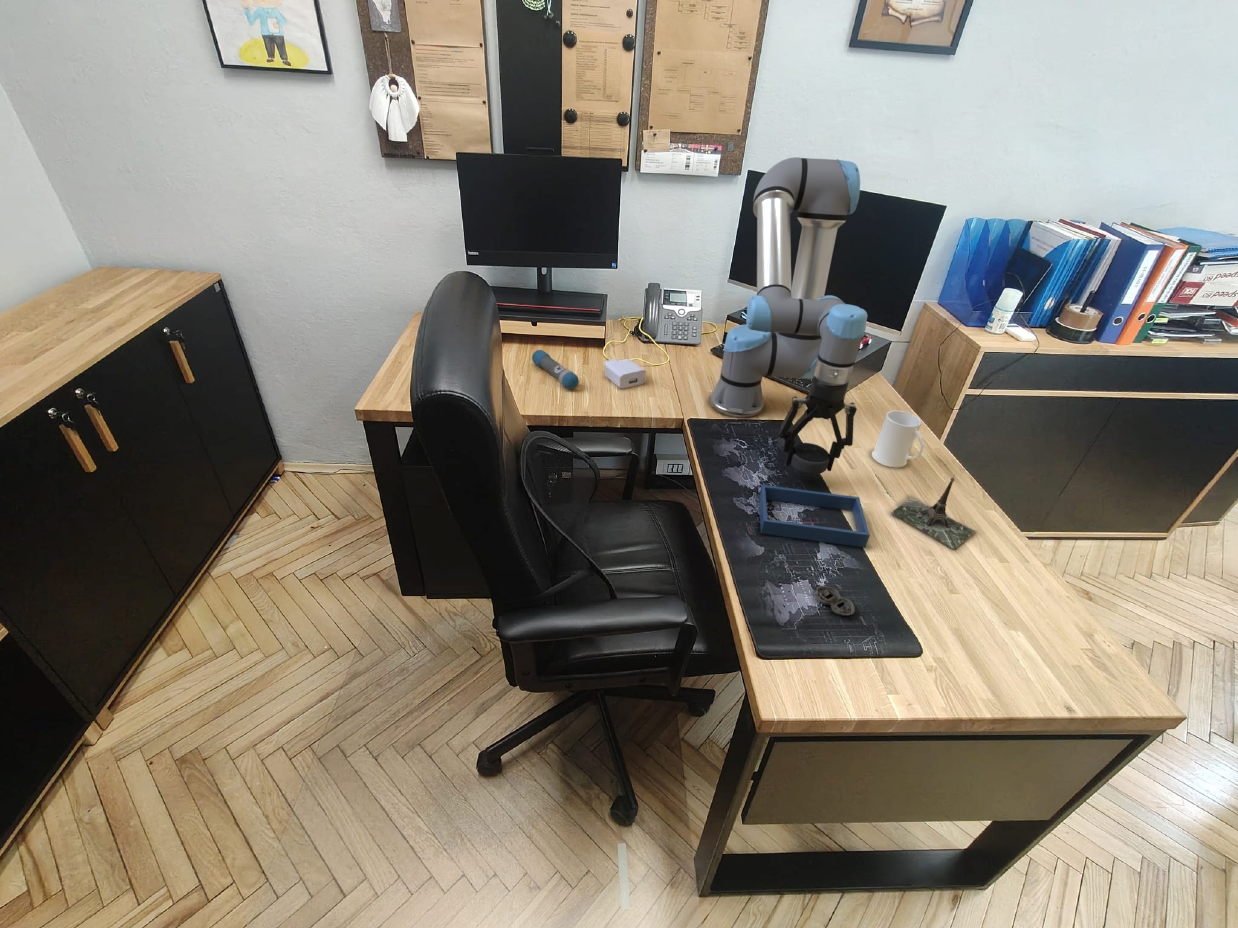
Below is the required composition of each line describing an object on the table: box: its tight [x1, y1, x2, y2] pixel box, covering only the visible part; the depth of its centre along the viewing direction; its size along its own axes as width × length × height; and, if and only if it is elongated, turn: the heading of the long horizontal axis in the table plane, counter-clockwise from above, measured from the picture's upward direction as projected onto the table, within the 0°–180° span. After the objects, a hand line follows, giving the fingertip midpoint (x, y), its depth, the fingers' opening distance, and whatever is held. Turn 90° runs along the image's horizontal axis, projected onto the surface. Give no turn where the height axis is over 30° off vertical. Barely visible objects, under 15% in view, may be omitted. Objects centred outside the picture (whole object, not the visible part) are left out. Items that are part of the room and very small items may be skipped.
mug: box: [871, 409, 925, 469], centre depth 148 cm, size 12×8×12 cm
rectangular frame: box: [758, 484, 871, 548], centre depth 129 cm, size 13×22×4 cm, turn 81°
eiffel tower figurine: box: [890, 474, 976, 551], centre depth 128 cm, size 15×10×13 cm
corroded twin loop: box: [815, 585, 856, 617], centre depth 110 cm, size 5×8×1 cm, turn 34°
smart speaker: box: [789, 442, 830, 476], centre depth 139 cm, size 9×9×4 cm
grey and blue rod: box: [531, 349, 580, 390], centre depth 181 cm, size 5×22×5 cm, turn 35°
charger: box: [603, 358, 647, 389], centre depth 184 cm, size 5×9×15 cm
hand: (807, 465), depth 140 cm, fingers closed on smart speaker, 9 cm apart
